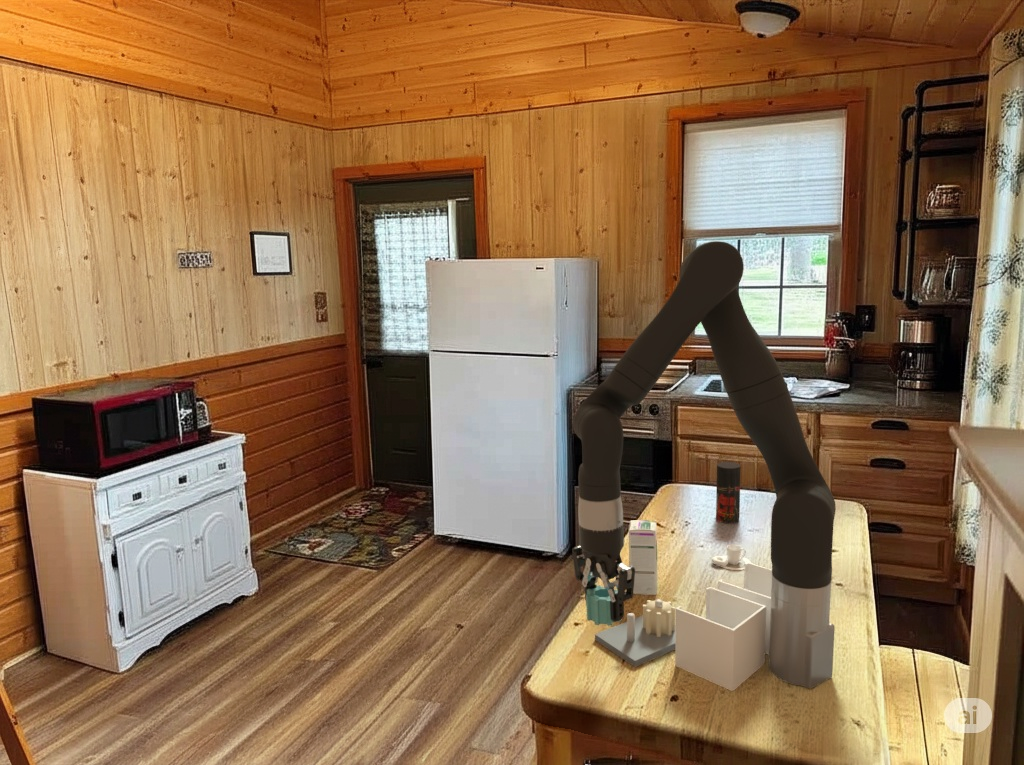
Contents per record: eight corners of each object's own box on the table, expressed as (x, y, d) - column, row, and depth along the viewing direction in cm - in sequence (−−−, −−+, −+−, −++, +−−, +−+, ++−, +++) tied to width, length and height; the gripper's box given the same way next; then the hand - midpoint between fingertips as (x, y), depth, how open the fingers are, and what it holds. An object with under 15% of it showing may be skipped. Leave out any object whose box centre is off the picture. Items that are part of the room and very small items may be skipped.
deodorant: (711, 517, 194) (712, 463, 192) (730, 514, 196) (731, 460, 193) (724, 524, 189) (725, 469, 186) (743, 521, 190) (745, 466, 188)
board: (693, 641, 134) (693, 607, 133) (635, 667, 126) (634, 631, 125) (651, 617, 143) (651, 585, 142) (594, 640, 136) (594, 606, 134)
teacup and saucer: (710, 569, 164) (711, 552, 164) (712, 555, 172) (713, 539, 171) (751, 573, 161) (751, 556, 161) (751, 559, 169) (752, 542, 168)
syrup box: (657, 595, 152) (657, 530, 149) (628, 594, 153) (628, 529, 150) (657, 583, 157) (657, 520, 155) (629, 581, 159) (629, 519, 156)
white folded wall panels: (732, 692, 119) (733, 630, 117) (675, 666, 127) (675, 608, 125) (800, 633, 136) (802, 578, 134) (746, 614, 144) (747, 562, 142)
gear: (628, 618, 125) (627, 593, 124) (602, 629, 122) (601, 604, 121) (606, 605, 130) (605, 582, 129) (580, 616, 127) (579, 592, 126)
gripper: (647, 526, 119) (649, 621, 122) (590, 505, 131) (593, 592, 134) (612, 538, 115) (616, 636, 118) (557, 515, 127) (561, 604, 130)
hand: (604, 612), depth 126 cm, fingers closed on gear, 6 cm apart
